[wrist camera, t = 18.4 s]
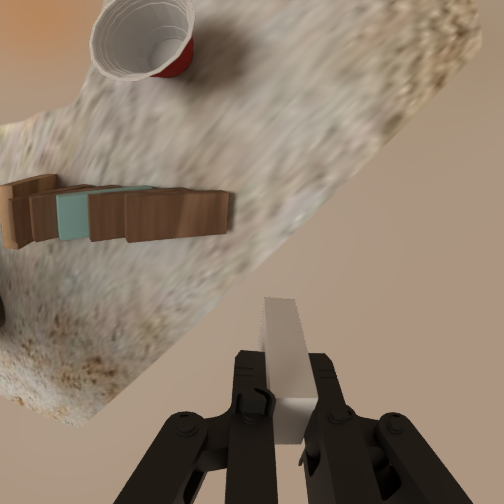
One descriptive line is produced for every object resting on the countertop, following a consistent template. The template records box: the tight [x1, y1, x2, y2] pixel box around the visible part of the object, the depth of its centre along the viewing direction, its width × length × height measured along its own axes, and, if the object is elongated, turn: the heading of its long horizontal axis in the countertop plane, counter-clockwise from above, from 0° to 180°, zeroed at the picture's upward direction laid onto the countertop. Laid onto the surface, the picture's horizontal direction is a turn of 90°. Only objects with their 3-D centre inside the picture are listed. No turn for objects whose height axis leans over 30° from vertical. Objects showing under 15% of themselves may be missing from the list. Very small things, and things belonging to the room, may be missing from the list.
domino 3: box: [56, 186, 153, 241], centre depth 33 cm, size 2×5×12 cm
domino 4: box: [87, 188, 189, 242], centre depth 33 cm, size 2×5×12 cm
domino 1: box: [7, 184, 91, 243], centre depth 32 cm, size 2×5×12 cm, turn 174°
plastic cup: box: [89, 0, 195, 81], centre depth 25 cm, size 11×11×12 cm
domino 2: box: [29, 185, 120, 242], centre depth 32 cm, size 2×5×12 cm
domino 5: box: [125, 190, 229, 243], centre depth 34 cm, size 2×5×12 cm
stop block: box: [0, 174, 56, 250], centre depth 32 cm, size 3×8×10 cm, turn 175°
